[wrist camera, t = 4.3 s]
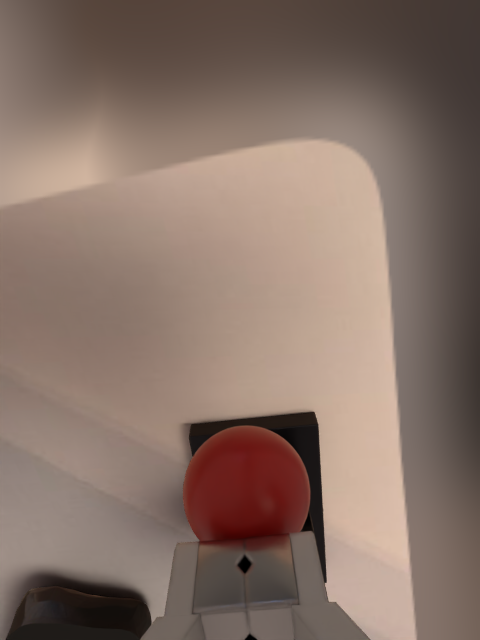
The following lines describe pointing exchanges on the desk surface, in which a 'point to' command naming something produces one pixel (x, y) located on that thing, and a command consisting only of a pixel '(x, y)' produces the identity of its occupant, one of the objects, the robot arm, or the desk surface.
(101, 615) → the black sponge
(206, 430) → the bracket
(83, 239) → the desk surface
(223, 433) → the lever
